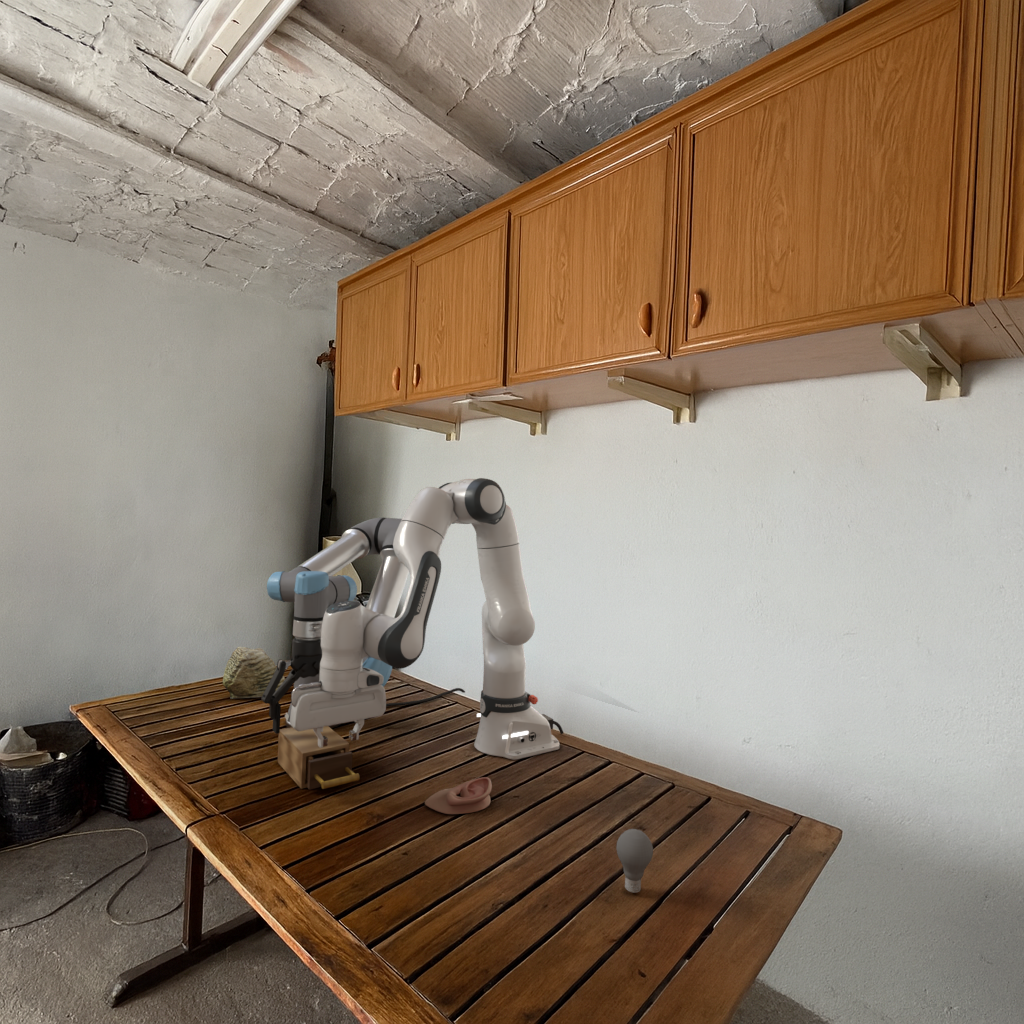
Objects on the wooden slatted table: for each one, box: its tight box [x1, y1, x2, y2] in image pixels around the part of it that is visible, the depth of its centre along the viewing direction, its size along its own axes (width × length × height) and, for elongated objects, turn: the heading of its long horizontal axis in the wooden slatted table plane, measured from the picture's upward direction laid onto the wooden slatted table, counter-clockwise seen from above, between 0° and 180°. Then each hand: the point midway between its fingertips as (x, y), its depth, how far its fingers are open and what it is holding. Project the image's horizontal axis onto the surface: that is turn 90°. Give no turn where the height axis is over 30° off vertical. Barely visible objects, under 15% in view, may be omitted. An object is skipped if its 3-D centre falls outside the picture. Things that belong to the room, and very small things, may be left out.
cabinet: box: [277, 726, 350, 790], centre depth 146 cm, size 16×11×8 cm, turn 38°
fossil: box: [222, 646, 286, 699], centre depth 198 cm, size 9×18×15 cm, turn 132°
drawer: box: [306, 749, 360, 790], centre depth 141 cm, size 21×10×6 cm, turn 38°
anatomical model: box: [424, 776, 493, 815], centre depth 134 cm, size 13×4×12 cm
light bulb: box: [615, 828, 654, 894], centre depth 106 cm, size 6×6×10 cm
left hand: (305, 726), depth 150 cm, fingers open, 13 cm apart
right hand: (338, 742), depth 135 cm, fingers open, 5 cm apart
